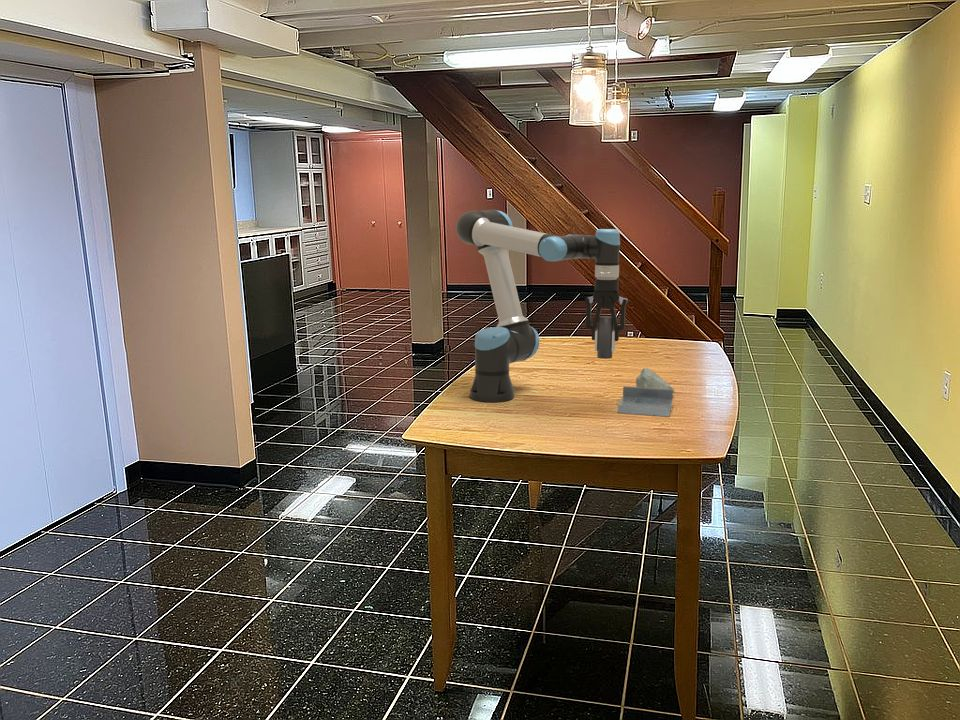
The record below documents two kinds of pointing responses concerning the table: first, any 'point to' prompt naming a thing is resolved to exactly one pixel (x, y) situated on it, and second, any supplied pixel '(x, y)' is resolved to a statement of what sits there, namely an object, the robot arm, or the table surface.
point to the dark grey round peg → (605, 337)
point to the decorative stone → (651, 380)
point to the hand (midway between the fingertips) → (604, 350)
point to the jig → (646, 401)
